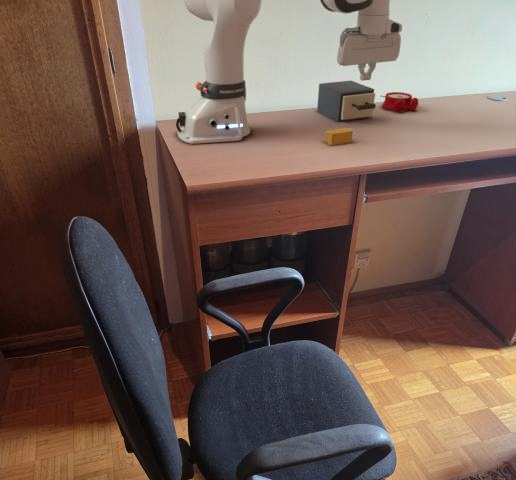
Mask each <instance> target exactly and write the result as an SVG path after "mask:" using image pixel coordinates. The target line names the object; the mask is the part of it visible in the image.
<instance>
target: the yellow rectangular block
mask: <svg viewBox="0 0 516 480" xmlns="http://www.w3.org/2000/svg"><path fill="white" fill-rule="evenodd" d="M353 135H354V130H352V129H350V128H348V127H344V128H334V129H329V130H326V131H325V140H324V142H325V143H326V144H328V145H329V146H337V145H342V144H350V143H352V142H353Z"/></svg>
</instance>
